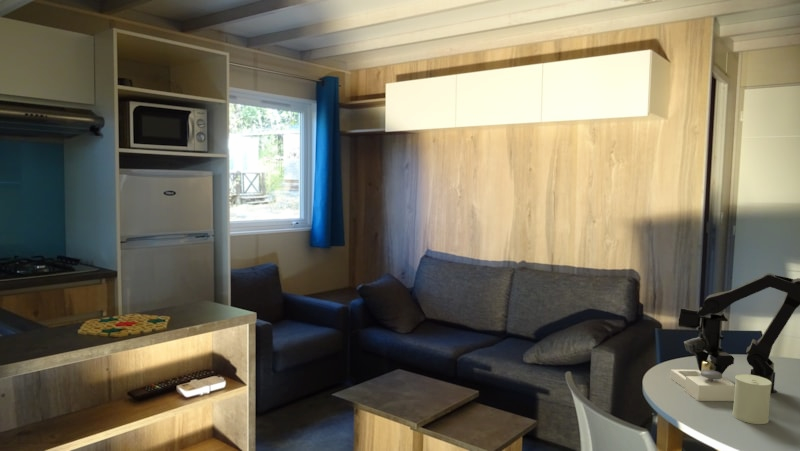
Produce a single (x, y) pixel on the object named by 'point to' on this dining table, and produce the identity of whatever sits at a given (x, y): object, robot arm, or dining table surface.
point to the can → (751, 399)
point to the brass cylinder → (706, 365)
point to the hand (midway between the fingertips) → (708, 375)
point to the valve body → (704, 384)
